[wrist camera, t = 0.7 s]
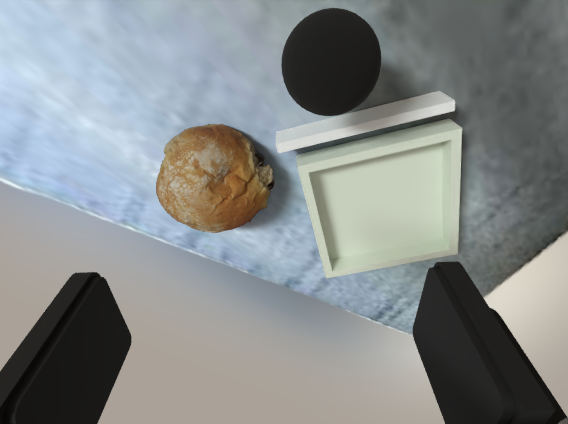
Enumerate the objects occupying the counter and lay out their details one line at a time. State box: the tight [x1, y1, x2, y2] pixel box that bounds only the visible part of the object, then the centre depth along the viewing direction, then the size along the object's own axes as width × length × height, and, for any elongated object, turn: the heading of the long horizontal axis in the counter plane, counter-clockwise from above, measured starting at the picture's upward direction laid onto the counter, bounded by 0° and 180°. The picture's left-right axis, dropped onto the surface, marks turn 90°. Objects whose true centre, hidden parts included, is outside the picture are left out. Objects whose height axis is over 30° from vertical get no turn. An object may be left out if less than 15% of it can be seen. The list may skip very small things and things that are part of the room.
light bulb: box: [282, 8, 381, 116], centre depth 22 cm, size 6×6×10 cm
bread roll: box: [156, 124, 274, 233], centre depth 30 cm, size 10×10×8 cm
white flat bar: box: [276, 91, 455, 153], centre depth 28 cm, size 14×1×3 cm, turn 104°
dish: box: [296, 119, 462, 278], centre depth 33 cm, size 14×14×2 cm
